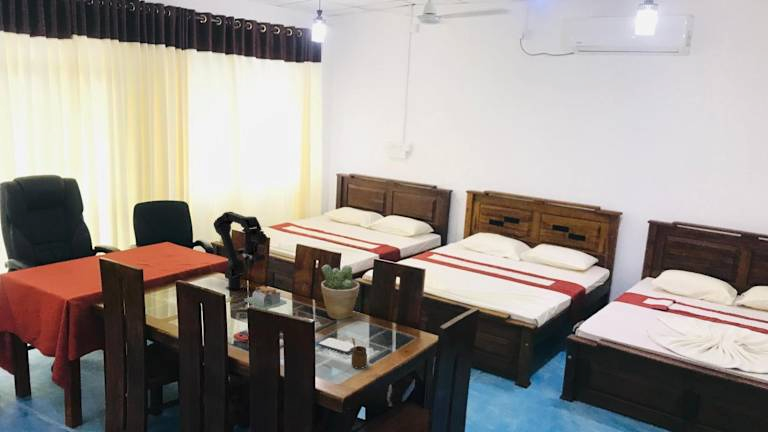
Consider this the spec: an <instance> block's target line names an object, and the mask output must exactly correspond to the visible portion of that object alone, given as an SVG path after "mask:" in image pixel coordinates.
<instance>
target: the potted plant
mask: <svg viewBox="0 0 768 432" xmlns="http://www.w3.org/2000/svg"><path fill="white" fill-rule="evenodd" d="M321 270H322V274H323V275H324V280H323V281H321V283H320V285H321V286H320V288H321V294H322V295H323V297H322V298H323V302H324V306H325V309H326V313H327V316H328V317H329V318H331V319H334V320H345V318H346V319H349V318H351V317H352V315H353V312H354V310H355V306H356V303H357V298H358V295H359V294H360V293H359V292H360V283H359V282H358V281H356V280H354V278H353V267H352V266H351V265H349V264H348V265H347V264H346V265H344V266H342V269H341V270H339V268H338V267H334V268H332V267H331V266H330V265H329V264H324V265H323V266H322V267H321ZM350 316H351V317H350ZM348 317H349V318H348Z"/></svg>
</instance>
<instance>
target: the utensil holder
mask: <svg viewBox="0 0 768 432" xmlns="http://www.w3.org/2000/svg"><path fill="white" fill-rule="evenodd" d="M351 340H352V344H353V345H354V348H353V352H352V353H351V366H352V365H353V366H354V367H357V368H356V369H359V368H360V369H363V368H362V367H364V368H366V367H367V365H368V353H367V347H366V346H367V343H368V340H366V337H363V339H361V341H360V344H364V345H358V346H356V347H355V345H357V344H356V341H355V338H353V337H351ZM353 366H352V367H353ZM365 366H366V367H365ZM354 367H353V368H354Z"/></svg>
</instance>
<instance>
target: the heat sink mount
mask: <svg viewBox="0 0 768 432" xmlns="http://www.w3.org/2000/svg"><path fill="white" fill-rule="evenodd" d="M262 286H263V287H266V285H262ZM258 287H259V286H256V287H255V290H254V291H253V292H252V296H250V297H246V298H244V299H243V301H244V302H246V303H249V304H250V305H254V306H256V305H257V306H256V307H258V306H260V307H259V308H261V309H263V308H265V309H264V310H269V309H271V308H275V307H280V306H283V305H285V304H287V300H284V299H283V298H282V299H281V292H279V291H277V290H276V293H273V294H271V292H268V291H267V290H266V291H263V290H259V289H258Z"/></svg>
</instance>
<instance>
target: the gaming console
mask: <svg viewBox="0 0 768 432" xmlns="http://www.w3.org/2000/svg"><path fill="white" fill-rule="evenodd" d="M247 330H248V329H245V330H243V331H240V332H237V333H234V334H233V338H234V339H235V340H238V341H240V342H242V343H245V344H246V343H249V342H248V332H247Z"/></svg>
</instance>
